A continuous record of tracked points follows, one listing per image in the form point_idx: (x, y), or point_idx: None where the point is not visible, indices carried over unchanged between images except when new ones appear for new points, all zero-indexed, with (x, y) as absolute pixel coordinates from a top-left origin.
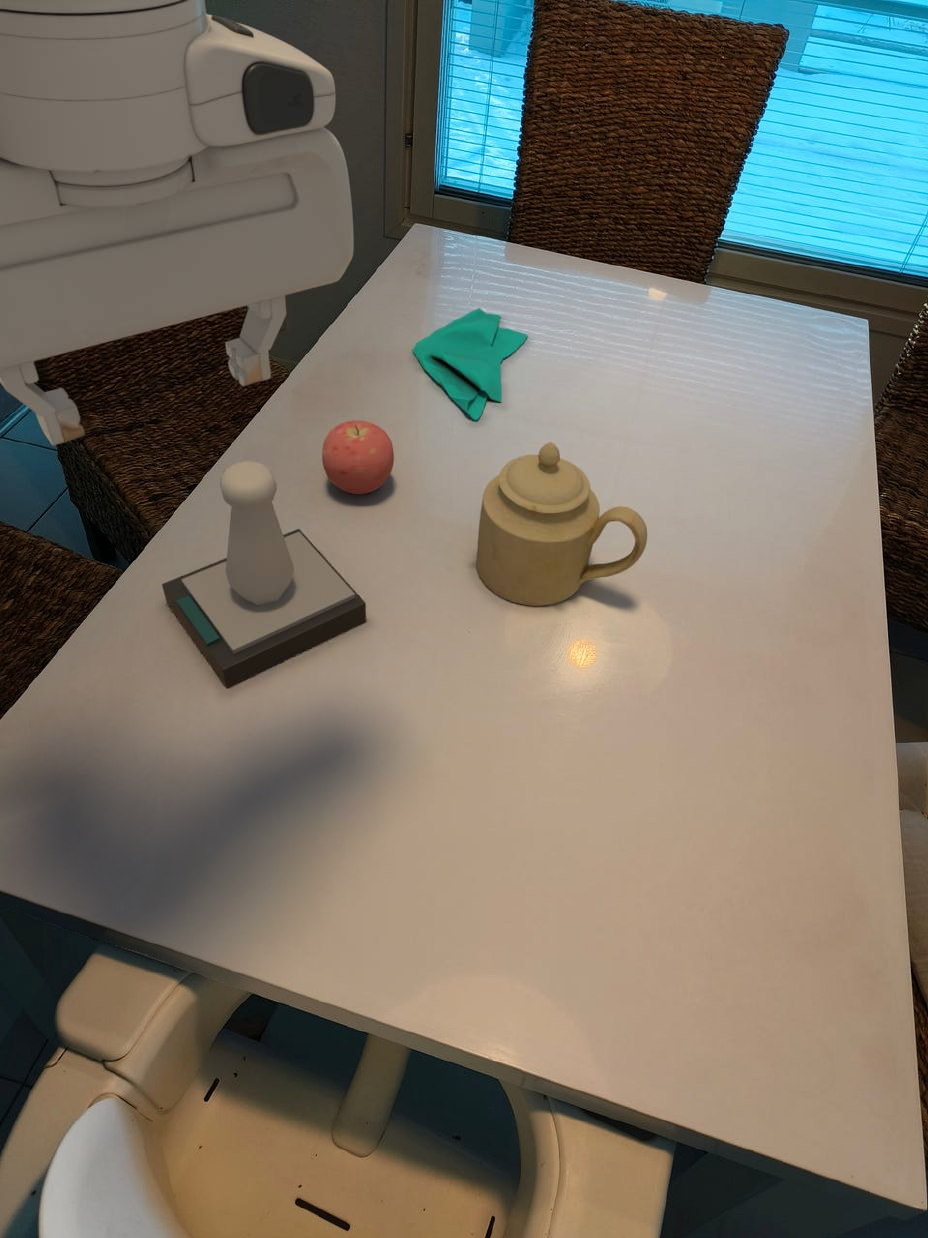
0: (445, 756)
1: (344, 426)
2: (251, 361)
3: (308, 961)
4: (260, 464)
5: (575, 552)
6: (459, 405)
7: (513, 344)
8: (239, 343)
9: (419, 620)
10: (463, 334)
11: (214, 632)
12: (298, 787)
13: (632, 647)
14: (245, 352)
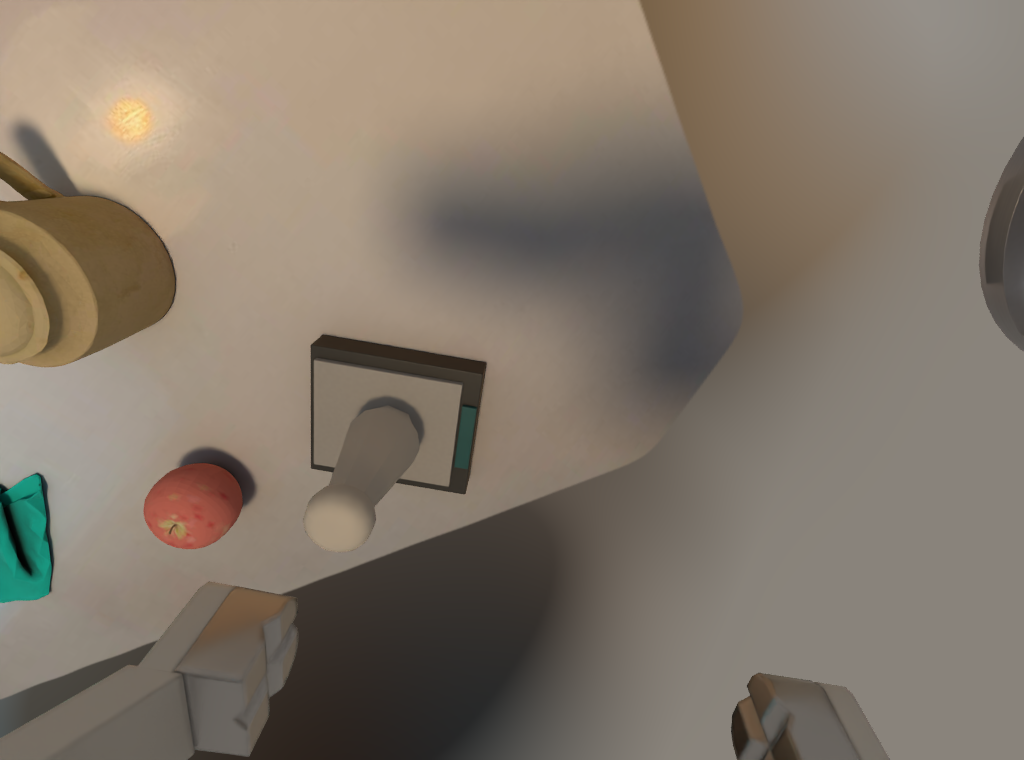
0: (361, 132)
1: (182, 542)
2: (220, 654)
3: (626, 46)
4: (309, 532)
5: (26, 205)
6: (43, 502)
7: None
8: (211, 731)
9: (272, 296)
10: None
11: (462, 415)
12: (505, 219)
13: (63, 77)
14: (215, 694)
